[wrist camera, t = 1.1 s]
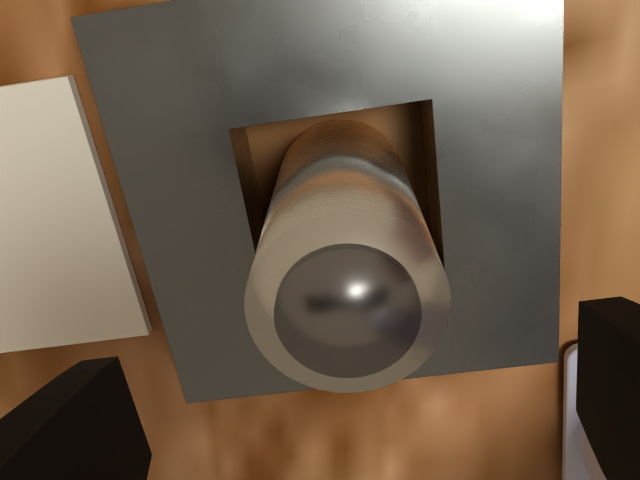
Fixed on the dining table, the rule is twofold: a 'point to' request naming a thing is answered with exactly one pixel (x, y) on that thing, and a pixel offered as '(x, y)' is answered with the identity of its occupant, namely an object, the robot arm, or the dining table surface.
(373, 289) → the silver metal cylinder
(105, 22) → the housing
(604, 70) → the dining table surface
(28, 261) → the mat
